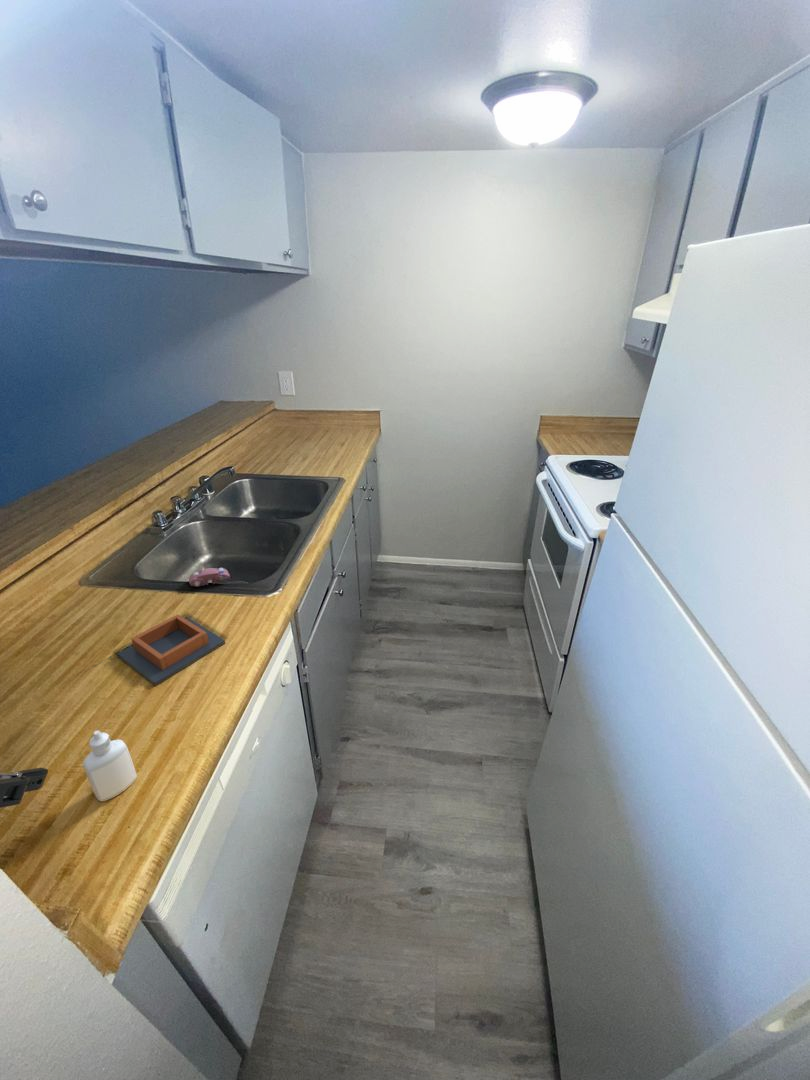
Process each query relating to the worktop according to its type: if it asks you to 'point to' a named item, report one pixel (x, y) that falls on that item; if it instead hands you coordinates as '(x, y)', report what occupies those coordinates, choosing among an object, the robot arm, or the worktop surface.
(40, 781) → the robot arm
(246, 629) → the worktop surface
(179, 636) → the socket pad
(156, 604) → the worktop surface
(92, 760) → the eye dropper bottle
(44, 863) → the worktop surface
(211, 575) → the pink toy car
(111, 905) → the worktop surface
